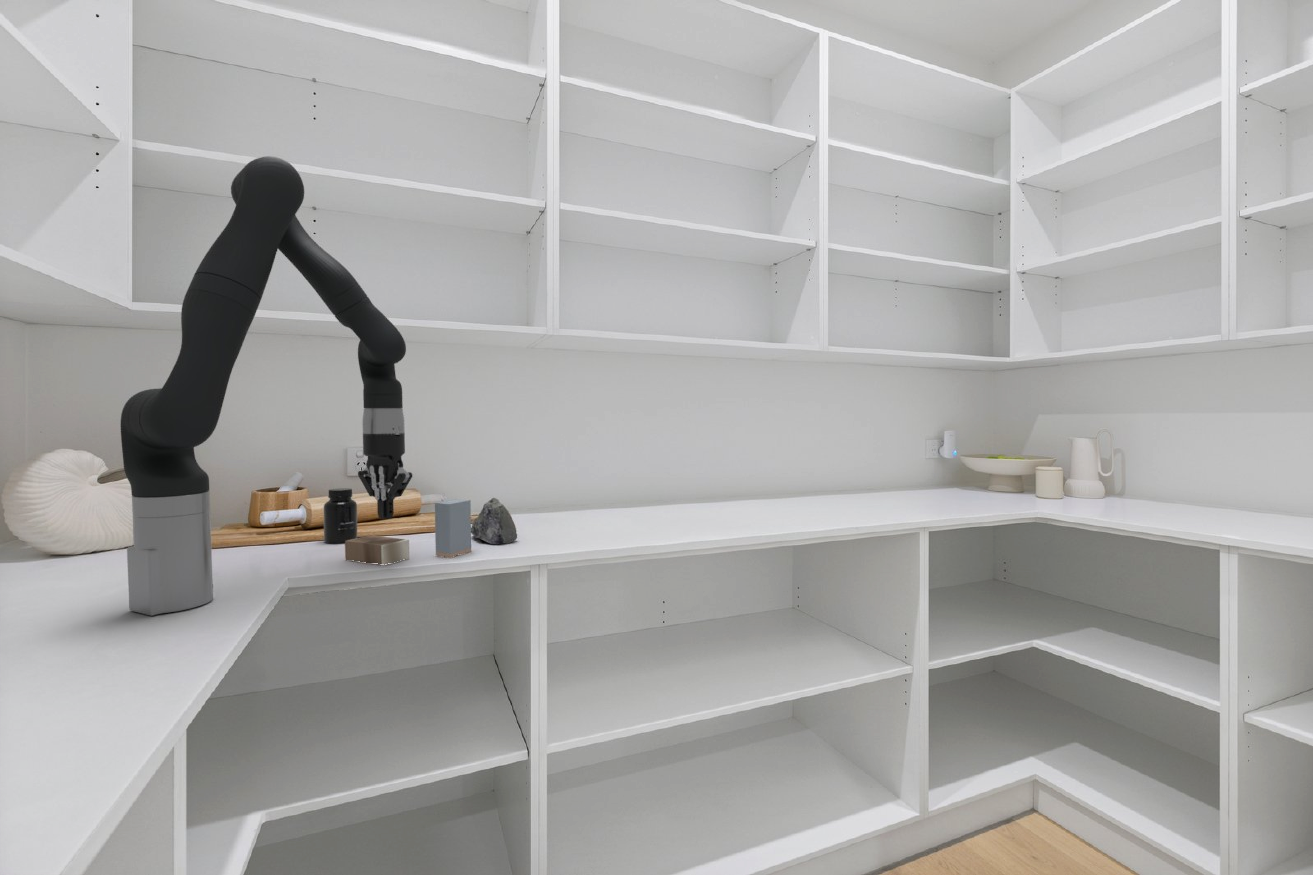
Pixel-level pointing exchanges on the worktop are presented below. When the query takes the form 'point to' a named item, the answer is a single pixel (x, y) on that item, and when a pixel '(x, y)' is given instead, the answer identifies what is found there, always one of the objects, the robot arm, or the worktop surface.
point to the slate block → (453, 527)
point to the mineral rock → (494, 524)
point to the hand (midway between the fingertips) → (385, 518)
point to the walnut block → (377, 549)
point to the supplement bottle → (340, 516)
